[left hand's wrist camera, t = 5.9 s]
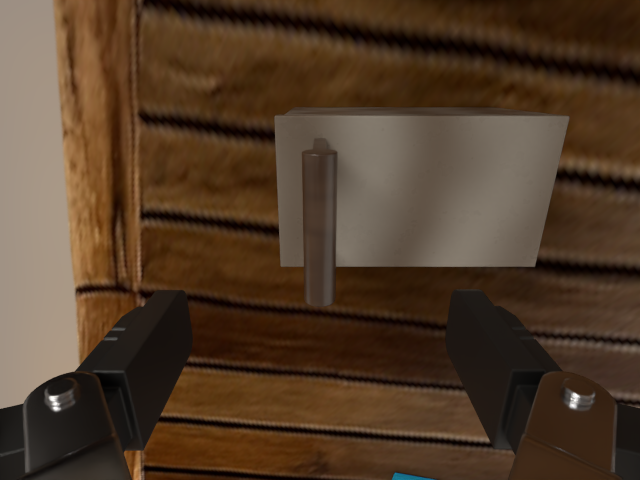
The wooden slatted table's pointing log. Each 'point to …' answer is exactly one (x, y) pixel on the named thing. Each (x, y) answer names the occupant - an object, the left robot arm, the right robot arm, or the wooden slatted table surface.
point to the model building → (408, 477)
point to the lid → (412, 191)
